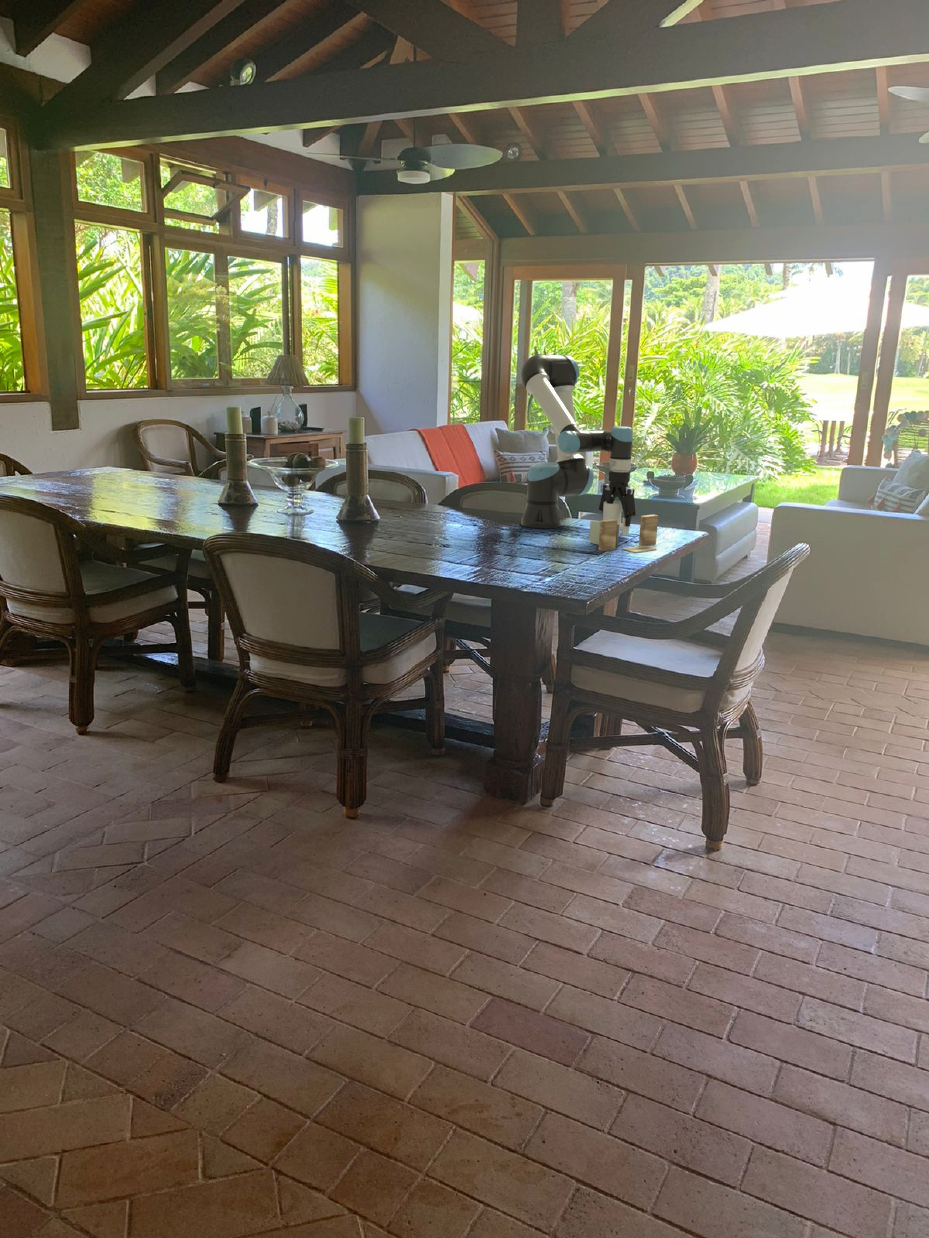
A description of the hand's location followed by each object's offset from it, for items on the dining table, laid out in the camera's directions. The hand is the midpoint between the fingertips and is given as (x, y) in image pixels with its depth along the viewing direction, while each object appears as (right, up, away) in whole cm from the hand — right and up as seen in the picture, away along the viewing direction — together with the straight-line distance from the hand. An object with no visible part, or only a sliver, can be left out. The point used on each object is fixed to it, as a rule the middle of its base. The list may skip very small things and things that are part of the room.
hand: (615, 532), depth 338 cm
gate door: (-7, -6, -18) cm, 20 cm away
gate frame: (+3, -7, -22) cm, 23 cm away
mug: (0, -1, 0) cm, 1 cm away
